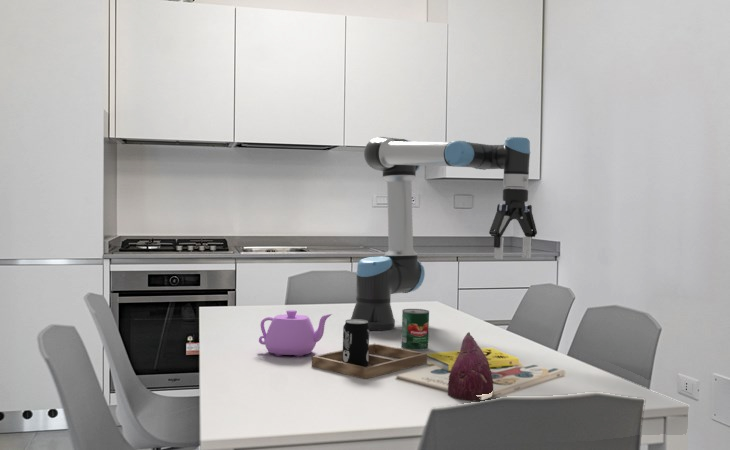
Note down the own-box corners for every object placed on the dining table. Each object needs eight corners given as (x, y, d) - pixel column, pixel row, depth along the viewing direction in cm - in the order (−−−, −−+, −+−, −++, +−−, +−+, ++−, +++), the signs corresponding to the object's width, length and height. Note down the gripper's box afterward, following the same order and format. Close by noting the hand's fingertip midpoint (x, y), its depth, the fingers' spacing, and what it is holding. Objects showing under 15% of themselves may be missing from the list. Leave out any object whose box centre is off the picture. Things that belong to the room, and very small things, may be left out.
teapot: (253, 356, 190) (254, 312, 190) (263, 346, 203) (264, 305, 203) (328, 360, 189) (329, 315, 188) (333, 349, 202) (334, 308, 202)
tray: (311, 366, 181) (311, 356, 181) (374, 352, 200) (374, 343, 200) (365, 378, 170) (365, 368, 170) (426, 363, 189) (427, 353, 189)
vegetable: (445, 403, 163) (435, 337, 166) (489, 397, 163) (479, 331, 166) (453, 404, 152) (443, 334, 155) (500, 398, 153) (489, 328, 156)
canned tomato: (413, 344, 214) (414, 307, 213) (433, 348, 208) (435, 311, 208) (395, 347, 208) (396, 309, 208) (415, 352, 202) (417, 313, 202)
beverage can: (365, 372, 177) (366, 323, 176) (339, 370, 178) (340, 322, 177) (370, 366, 183) (371, 319, 183) (345, 364, 184) (346, 318, 184)
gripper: (499, 187, 206) (496, 260, 207) (550, 190, 222) (547, 258, 223) (479, 186, 212) (476, 258, 213) (530, 189, 228) (527, 256, 229)
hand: (512, 258), depth 218 cm, fingers open, 13 cm apart
